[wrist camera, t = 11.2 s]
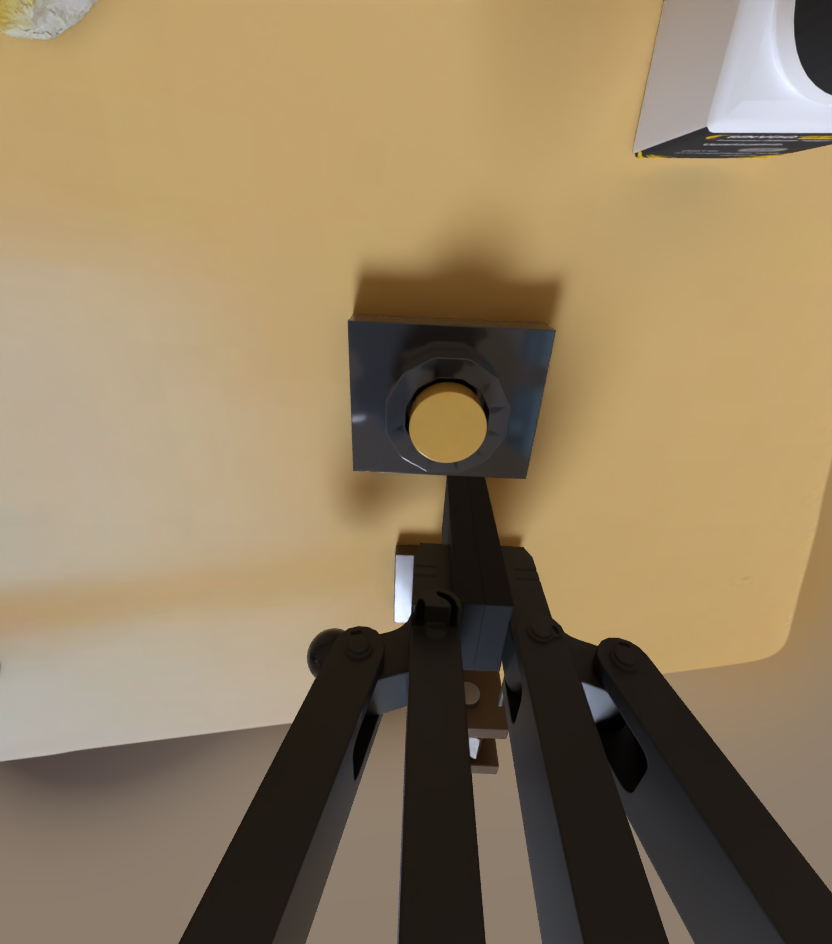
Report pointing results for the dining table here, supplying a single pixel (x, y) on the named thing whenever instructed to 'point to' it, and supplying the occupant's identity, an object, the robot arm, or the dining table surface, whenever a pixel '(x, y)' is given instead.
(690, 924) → the robot arm
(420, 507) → the dining table surface
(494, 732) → the lever bracket
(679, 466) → the dining table surface
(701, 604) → the dining table surface
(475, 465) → the button base
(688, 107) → the medicine bottle
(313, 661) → the flush lever
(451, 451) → the tan short cylinder
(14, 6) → the bread roll
